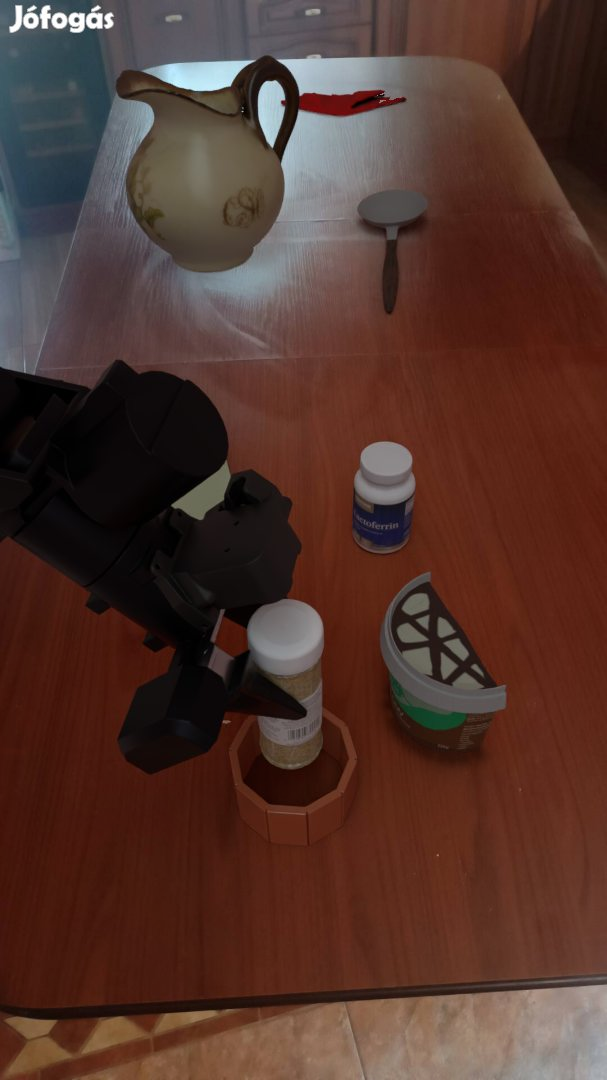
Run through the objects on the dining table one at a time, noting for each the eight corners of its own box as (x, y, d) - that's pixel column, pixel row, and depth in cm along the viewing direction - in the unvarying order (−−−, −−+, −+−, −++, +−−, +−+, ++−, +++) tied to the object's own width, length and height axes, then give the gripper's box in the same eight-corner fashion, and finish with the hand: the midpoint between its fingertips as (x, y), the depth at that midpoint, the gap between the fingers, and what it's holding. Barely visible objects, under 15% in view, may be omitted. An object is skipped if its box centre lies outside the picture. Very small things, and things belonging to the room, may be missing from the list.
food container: (352, 665, 68) (354, 588, 61) (417, 644, 69) (427, 566, 62) (416, 792, 60) (428, 721, 53) (489, 765, 61) (510, 691, 54)
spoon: (427, 205, 129) (427, 187, 127) (430, 320, 107) (430, 301, 105) (360, 210, 131) (358, 192, 129) (349, 324, 109) (347, 305, 107)
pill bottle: (344, 548, 77) (346, 470, 70) (360, 509, 81) (363, 432, 74) (402, 561, 76) (410, 483, 69) (416, 521, 80) (424, 443, 73)
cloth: (272, 114, 162) (272, 102, 161) (286, 92, 172) (286, 81, 170) (401, 120, 159) (401, 107, 157) (407, 97, 168) (408, 85, 166)
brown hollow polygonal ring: (248, 860, 57) (242, 829, 53) (227, 747, 63) (221, 712, 59) (367, 831, 58) (370, 799, 54) (336, 723, 64) (336, 688, 60)
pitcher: (112, 279, 116) (73, 89, 98) (177, 211, 132) (153, 36, 114) (257, 299, 111) (244, 103, 93) (307, 226, 127) (304, 46, 109)
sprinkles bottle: (314, 709, 59) (313, 589, 49) (330, 764, 55) (333, 648, 46) (252, 722, 58) (239, 603, 48) (265, 779, 55) (254, 664, 45)
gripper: (139, 626, 33) (387, 794, 40) (244, 373, 46) (419, 531, 52) (14, 702, 40) (243, 835, 46) (136, 462, 53) (303, 593, 59)
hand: (309, 685), depth 51 cm, fingers closed on sprinkles bottle, 4 cm apart
